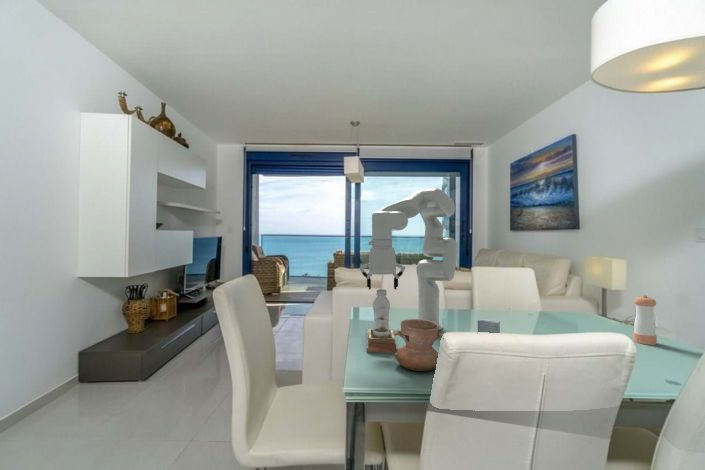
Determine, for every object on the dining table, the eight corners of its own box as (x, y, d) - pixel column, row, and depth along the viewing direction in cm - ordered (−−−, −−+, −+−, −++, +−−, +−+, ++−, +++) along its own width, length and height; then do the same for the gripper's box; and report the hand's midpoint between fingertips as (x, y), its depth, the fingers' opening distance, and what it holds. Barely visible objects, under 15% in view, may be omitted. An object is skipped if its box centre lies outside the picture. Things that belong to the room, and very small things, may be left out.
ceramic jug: (391, 373, 105) (393, 327, 105) (392, 356, 119) (393, 316, 119) (451, 378, 103) (453, 331, 103) (445, 360, 117) (446, 319, 117)
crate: (368, 340, 136) (368, 329, 136) (392, 340, 135) (392, 329, 135) (369, 350, 123) (369, 338, 123) (394, 351, 123) (394, 338, 123)
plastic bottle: (391, 345, 126) (392, 291, 126) (373, 345, 126) (373, 291, 126) (388, 340, 133) (389, 288, 133) (371, 340, 132) (371, 288, 132)
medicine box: (500, 342, 137) (500, 320, 137) (498, 345, 134) (498, 323, 134) (479, 339, 142) (479, 318, 142) (477, 341, 138) (477, 320, 138)
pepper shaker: (657, 342, 139) (657, 295, 139) (655, 346, 134) (656, 297, 134) (634, 338, 144) (634, 293, 144) (632, 342, 139) (632, 295, 139)
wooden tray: (366, 335, 146) (366, 326, 146) (392, 335, 145) (392, 326, 145) (366, 354, 122) (366, 343, 122) (397, 355, 121) (397, 344, 121)
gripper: (359, 244, 126) (359, 290, 126) (406, 244, 125) (406, 290, 126) (359, 243, 133) (359, 287, 134) (403, 243, 133) (404, 287, 133)
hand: (382, 288), depth 130 cm, fingers open, 9 cm apart
